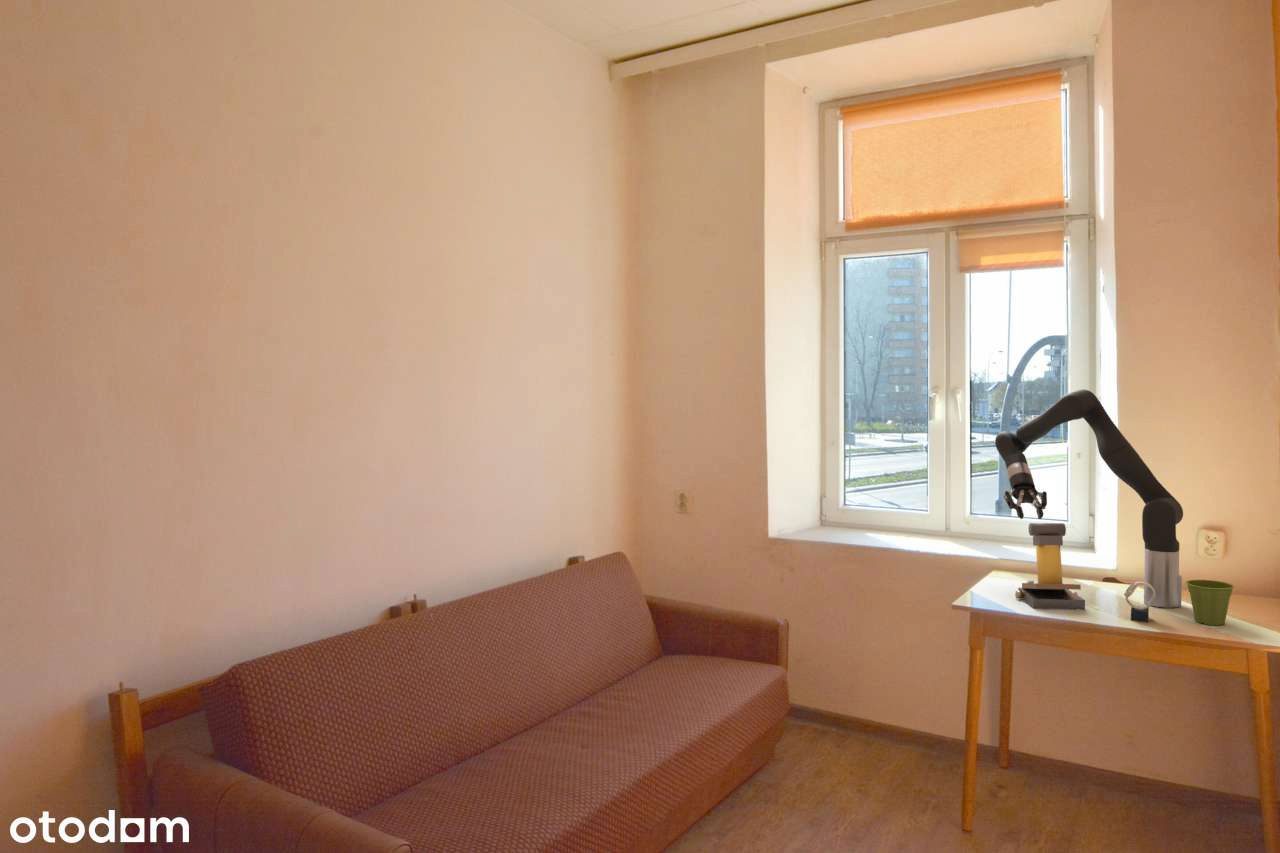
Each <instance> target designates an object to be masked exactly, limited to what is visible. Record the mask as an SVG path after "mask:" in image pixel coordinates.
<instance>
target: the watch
mask: <svg viewBox="0 0 1280 853" xmlns="http://www.w3.org/2000/svg"><path fill="white" fill-rule="evenodd" d="M1138 585H1143V586H1144V585H1147V586H1148V587H1150V588H1151V589H1152V591H1153V592H1154V593H1153V596H1152V598H1151V600H1150V602H1149V603H1148V604H1146V605H1145V606H1140V605H1137V606H1136V605H1134V604H1133V603H1132V602H1131V601H1130V600H1129V598H1130V597H1131V596H1132V595H1133V593H1134V592H1135V590H1136V589H1137V587H1138ZM1123 596H1124V597H1125V601H1126V603H1127V604H1128V606H1129V607H1130V608H1131V609H1130V621H1131V622H1132V621H1134V622H1142V623H1149V619H1150V618H1149V616H1150V614H1149V613H1150V610H1149V609H1150V607H1152V606H1151V605H1152V604H1153V602H1154V600H1155V597H1156V596H1155V590H1154V588H1153V587H1152V586H1151V585H1150V584H1148V583H1146V582H1144V580H1136V581H1132V582H1131V583H1130V584H1129V586H1128V587H1127V588H1126V590H1125V592H1124V594H1123Z"/></svg>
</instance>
